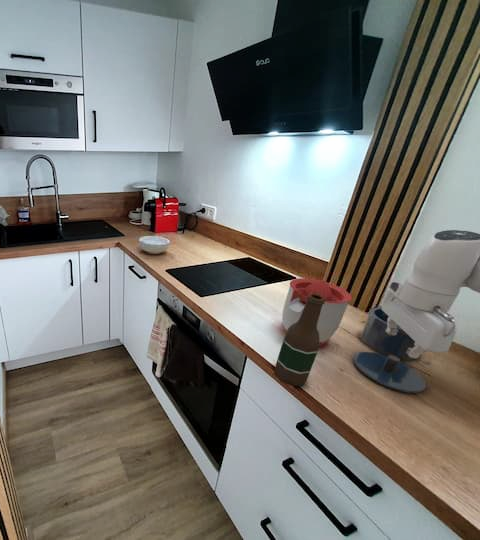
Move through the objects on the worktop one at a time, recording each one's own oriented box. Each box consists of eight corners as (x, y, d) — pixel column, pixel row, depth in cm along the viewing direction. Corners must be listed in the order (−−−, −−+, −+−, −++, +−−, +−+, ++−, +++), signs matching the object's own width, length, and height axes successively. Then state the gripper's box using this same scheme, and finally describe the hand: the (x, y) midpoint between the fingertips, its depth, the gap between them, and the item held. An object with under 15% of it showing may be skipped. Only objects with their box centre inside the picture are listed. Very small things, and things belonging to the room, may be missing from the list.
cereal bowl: (174, 251, 162) (175, 240, 160) (157, 259, 151) (158, 246, 148) (150, 245, 173) (150, 233, 170) (132, 251, 161) (133, 239, 158)
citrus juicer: (262, 329, 95) (277, 274, 87) (296, 318, 101) (313, 266, 93) (306, 358, 82) (329, 297, 74) (343, 344, 88) (367, 287, 80)
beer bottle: (311, 379, 74) (343, 299, 65) (296, 392, 70) (328, 308, 61) (282, 362, 80) (307, 286, 70) (266, 373, 76) (291, 293, 66)
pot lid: (403, 361, 82) (411, 346, 80) (438, 401, 69) (448, 385, 67) (344, 350, 86) (350, 336, 83) (367, 386, 73) (375, 370, 71)
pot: (396, 332, 95) (408, 307, 92) (435, 371, 79) (452, 343, 75) (349, 324, 99) (359, 300, 95) (377, 360, 82) (390, 332, 78)
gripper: (477, 323, 58) (444, 375, 64) (415, 282, 76) (393, 325, 82) (439, 317, 60) (409, 368, 65) (387, 278, 78) (367, 321, 83)
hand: (400, 344), depth 73 cm, fingers open, 8 cm apart
